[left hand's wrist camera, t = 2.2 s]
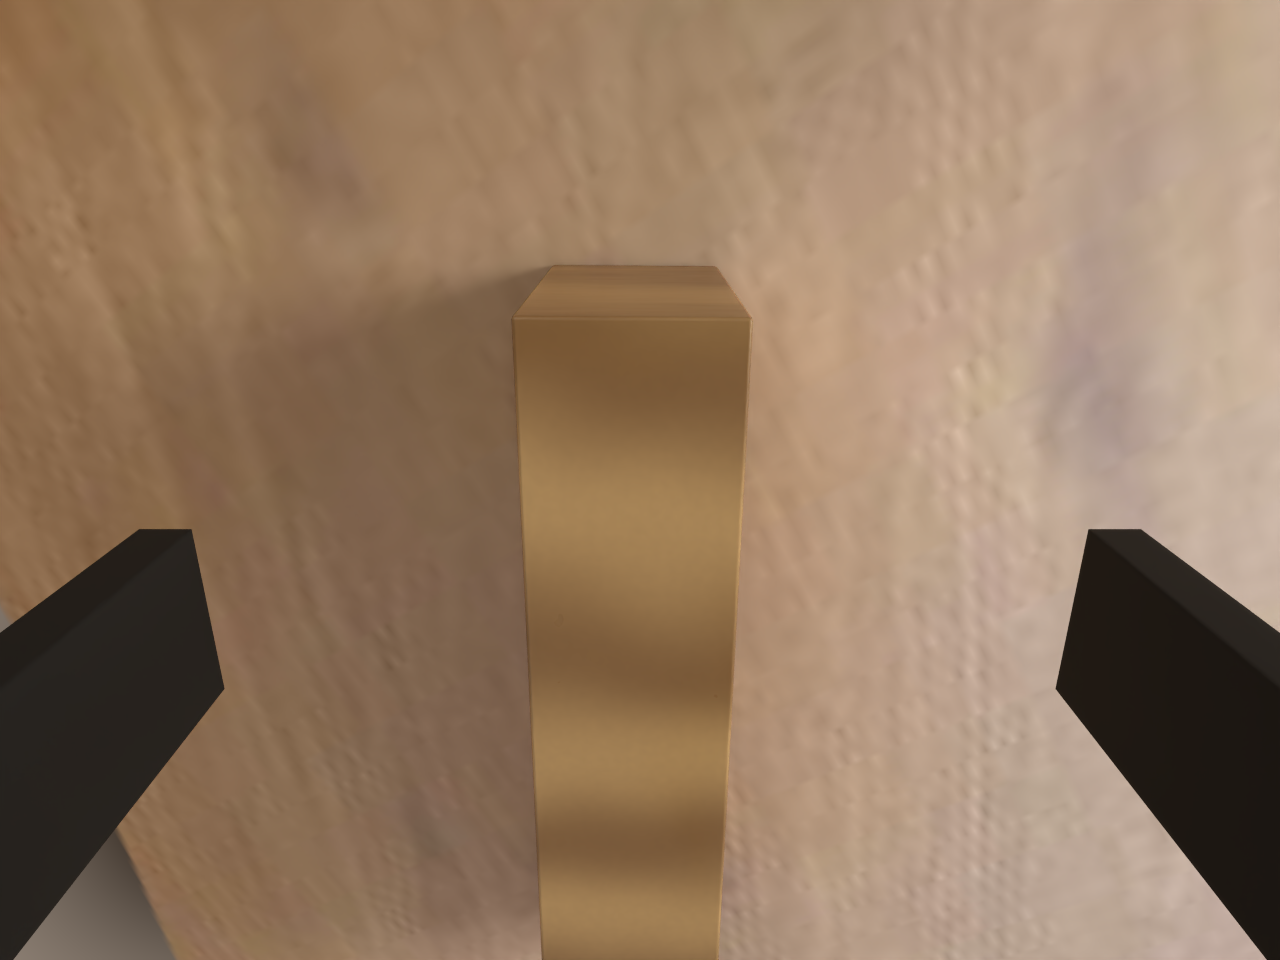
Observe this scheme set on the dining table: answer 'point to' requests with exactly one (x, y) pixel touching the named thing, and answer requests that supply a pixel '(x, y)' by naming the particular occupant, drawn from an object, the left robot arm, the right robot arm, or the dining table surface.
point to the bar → (631, 598)
